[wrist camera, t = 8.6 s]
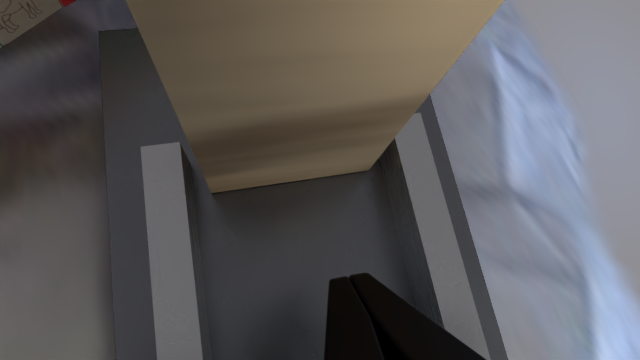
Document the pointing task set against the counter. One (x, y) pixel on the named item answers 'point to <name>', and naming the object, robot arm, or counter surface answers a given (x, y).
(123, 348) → the chute
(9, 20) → the stack of blocks
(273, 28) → the oak block
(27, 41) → the counter surface
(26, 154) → the counter surface
